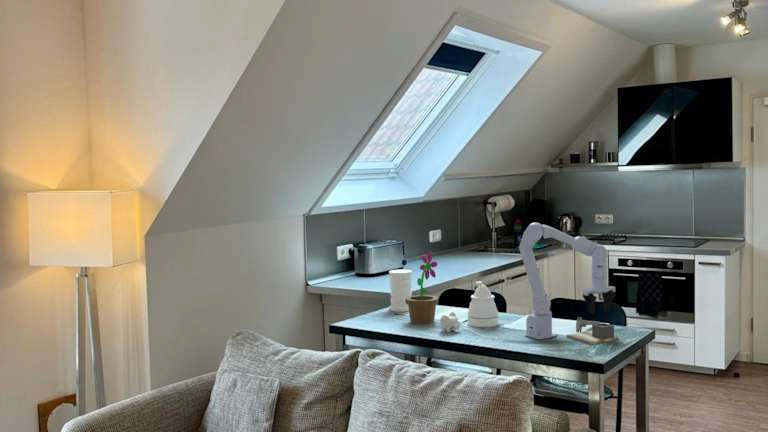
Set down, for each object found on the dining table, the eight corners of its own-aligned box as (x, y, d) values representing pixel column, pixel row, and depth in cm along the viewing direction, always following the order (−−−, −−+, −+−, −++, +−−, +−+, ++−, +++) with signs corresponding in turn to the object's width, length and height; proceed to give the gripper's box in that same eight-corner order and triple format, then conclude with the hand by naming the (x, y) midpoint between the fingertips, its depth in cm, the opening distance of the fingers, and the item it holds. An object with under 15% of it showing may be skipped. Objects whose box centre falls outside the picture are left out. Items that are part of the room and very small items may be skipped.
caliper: (578, 334, 290) (578, 317, 290) (576, 333, 291) (575, 317, 290) (600, 324, 306) (600, 309, 306) (597, 324, 307) (597, 308, 306)
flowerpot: (445, 321, 317) (444, 252, 315) (419, 326, 309) (417, 255, 307) (425, 316, 329) (423, 249, 326) (399, 321, 320) (397, 252, 318)
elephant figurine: (456, 334, 293) (456, 316, 293) (435, 332, 299) (435, 314, 298) (465, 330, 300) (465, 313, 299) (444, 328, 305) (444, 311, 305)
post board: (590, 344, 272) (590, 331, 272) (566, 337, 284) (566, 324, 283) (618, 339, 279) (618, 326, 278) (594, 332, 290) (593, 320, 290)
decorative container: (395, 312, 339) (394, 273, 337) (385, 308, 349) (384, 270, 348) (418, 310, 343) (417, 271, 342) (407, 305, 354) (406, 268, 353)
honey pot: (484, 328, 303) (483, 285, 301) (461, 323, 312) (460, 281, 311) (504, 323, 311) (504, 281, 310) (481, 319, 321) (480, 278, 319)
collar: (602, 339, 275) (602, 327, 275) (592, 336, 280) (592, 324, 280) (614, 337, 278) (614, 325, 278) (603, 334, 283) (603, 322, 282)
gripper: (592, 279, 273) (592, 316, 274) (621, 276, 280) (621, 311, 281) (578, 277, 279) (579, 312, 280) (607, 274, 286) (607, 308, 287)
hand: (599, 312), depth 281 cm, fingers open, 7 cm apart
